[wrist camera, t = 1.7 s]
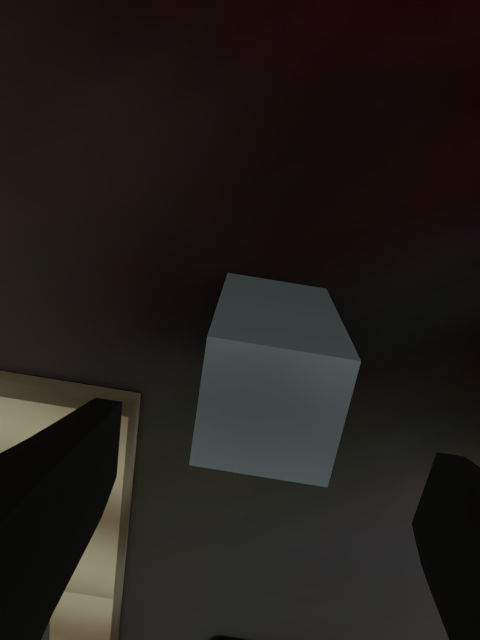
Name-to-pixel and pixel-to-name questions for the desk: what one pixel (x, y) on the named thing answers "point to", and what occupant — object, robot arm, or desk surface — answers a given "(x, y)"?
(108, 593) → the notched board
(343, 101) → the desk surface
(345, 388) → the tab peg
